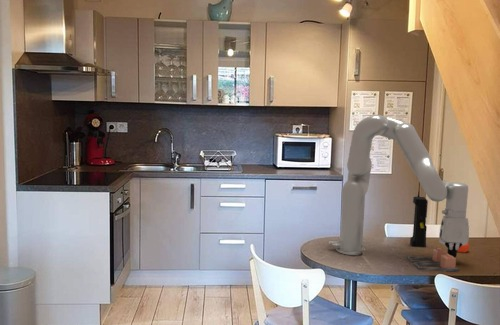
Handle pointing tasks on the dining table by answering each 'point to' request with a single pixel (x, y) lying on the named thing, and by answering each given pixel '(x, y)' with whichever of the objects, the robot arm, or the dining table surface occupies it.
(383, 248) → the dining table surface
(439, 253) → the tab far
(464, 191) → the robot arm
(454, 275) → the dining table surface
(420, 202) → the portable radio
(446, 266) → the pink block
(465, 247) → the clementine
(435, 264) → the switch board
